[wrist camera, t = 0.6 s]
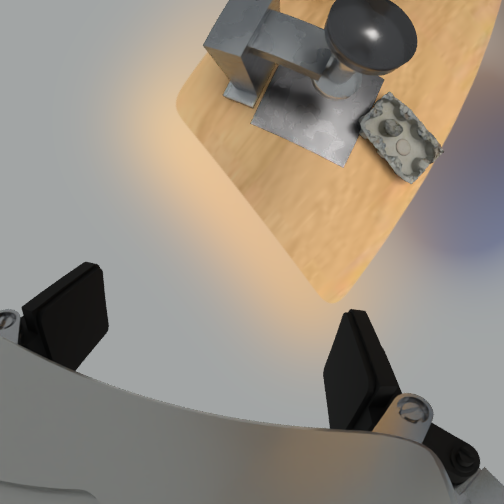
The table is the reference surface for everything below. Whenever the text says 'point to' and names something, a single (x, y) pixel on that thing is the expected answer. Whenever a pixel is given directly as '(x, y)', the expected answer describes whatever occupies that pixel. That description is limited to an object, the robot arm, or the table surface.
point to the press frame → (287, 77)
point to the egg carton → (400, 137)
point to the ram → (363, 44)
